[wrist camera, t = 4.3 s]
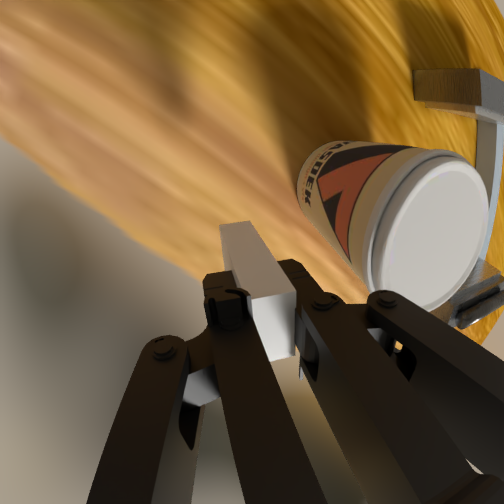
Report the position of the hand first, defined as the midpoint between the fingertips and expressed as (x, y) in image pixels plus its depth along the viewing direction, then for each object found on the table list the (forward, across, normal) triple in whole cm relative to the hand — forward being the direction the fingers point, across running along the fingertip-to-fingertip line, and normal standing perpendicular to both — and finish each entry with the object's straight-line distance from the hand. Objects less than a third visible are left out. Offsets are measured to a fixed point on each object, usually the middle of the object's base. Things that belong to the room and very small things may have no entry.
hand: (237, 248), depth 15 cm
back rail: (+8, +31, 0) cm, 32 cm away
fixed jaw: (+8, +24, +10) cm, 27 cm away
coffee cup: (+8, +10, +1) cm, 13 cm away
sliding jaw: (+8, +24, -10) cm, 27 cm away
